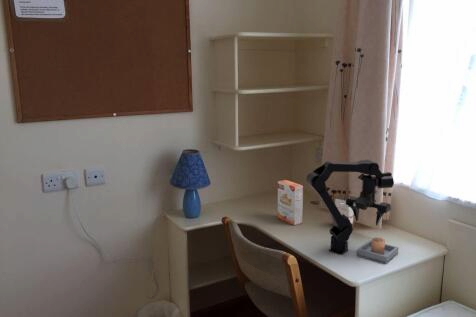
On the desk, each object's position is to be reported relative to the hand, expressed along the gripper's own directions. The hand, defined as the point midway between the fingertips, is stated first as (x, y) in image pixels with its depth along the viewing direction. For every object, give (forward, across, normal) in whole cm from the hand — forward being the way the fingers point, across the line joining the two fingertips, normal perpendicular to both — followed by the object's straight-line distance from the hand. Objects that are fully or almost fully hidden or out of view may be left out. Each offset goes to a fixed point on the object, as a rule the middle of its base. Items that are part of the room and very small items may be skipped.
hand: (366, 222), depth 193 cm
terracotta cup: (+11, +7, -3) cm, 14 cm away
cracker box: (+12, -46, +8) cm, 48 cm away
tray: (+12, +7, -3) cm, 14 cm away
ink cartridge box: (+12, -20, +18) cm, 30 cm away
